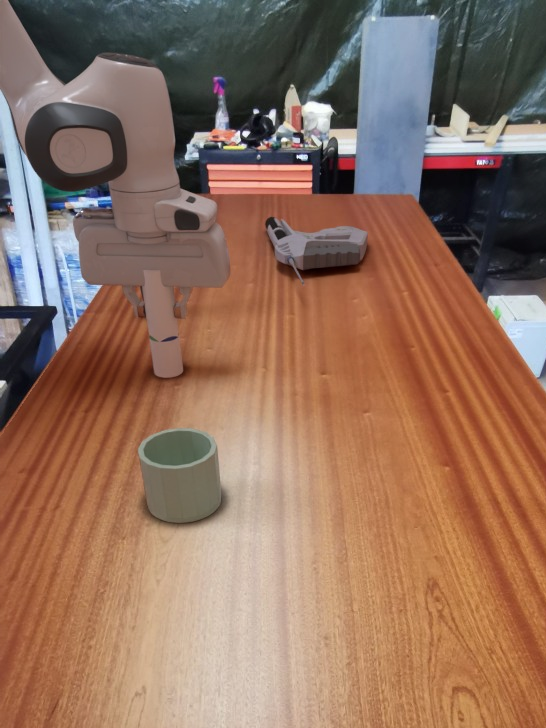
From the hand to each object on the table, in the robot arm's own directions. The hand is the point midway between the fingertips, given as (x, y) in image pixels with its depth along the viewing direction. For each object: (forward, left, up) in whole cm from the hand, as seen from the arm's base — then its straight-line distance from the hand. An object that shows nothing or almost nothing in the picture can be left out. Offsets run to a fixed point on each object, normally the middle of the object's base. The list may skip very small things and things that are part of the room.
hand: (161, 316), depth 104 cm
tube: (0, 0, -8) cm, 8 cm away
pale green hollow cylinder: (+10, -33, -8) cm, 35 cm away
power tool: (+19, +50, -8) cm, 54 cm away
